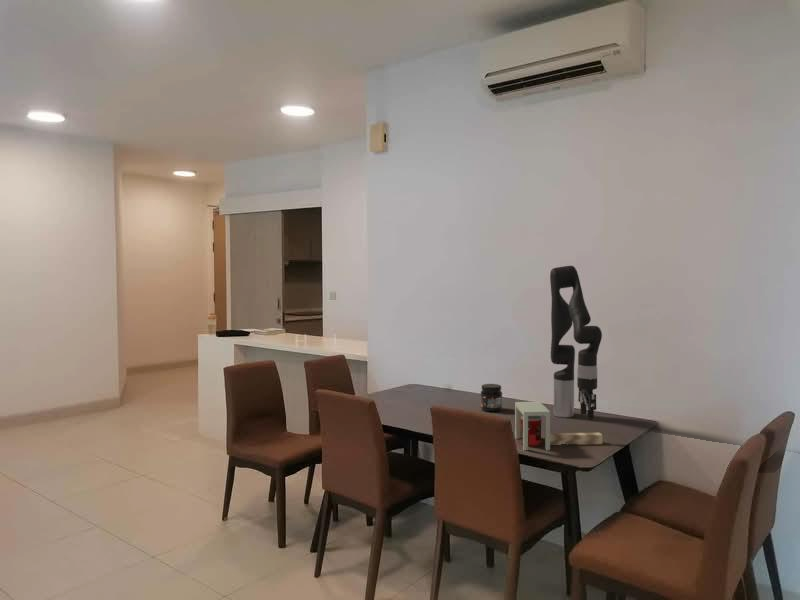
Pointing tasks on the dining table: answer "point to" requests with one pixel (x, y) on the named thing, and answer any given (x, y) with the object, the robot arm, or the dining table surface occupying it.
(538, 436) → the canned food
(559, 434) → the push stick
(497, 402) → the supplement container
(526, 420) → the stand
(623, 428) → the dining table surface
